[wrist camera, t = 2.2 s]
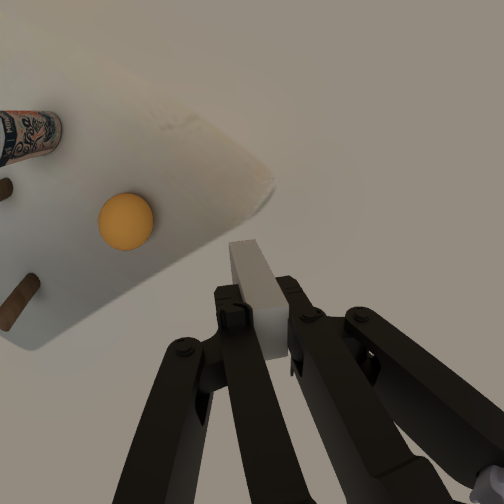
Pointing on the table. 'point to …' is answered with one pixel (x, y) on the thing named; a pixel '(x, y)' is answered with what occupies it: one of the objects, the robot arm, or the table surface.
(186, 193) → the table surface
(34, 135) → the beer can
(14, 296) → the post
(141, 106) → the table surface
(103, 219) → the ball
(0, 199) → the post
